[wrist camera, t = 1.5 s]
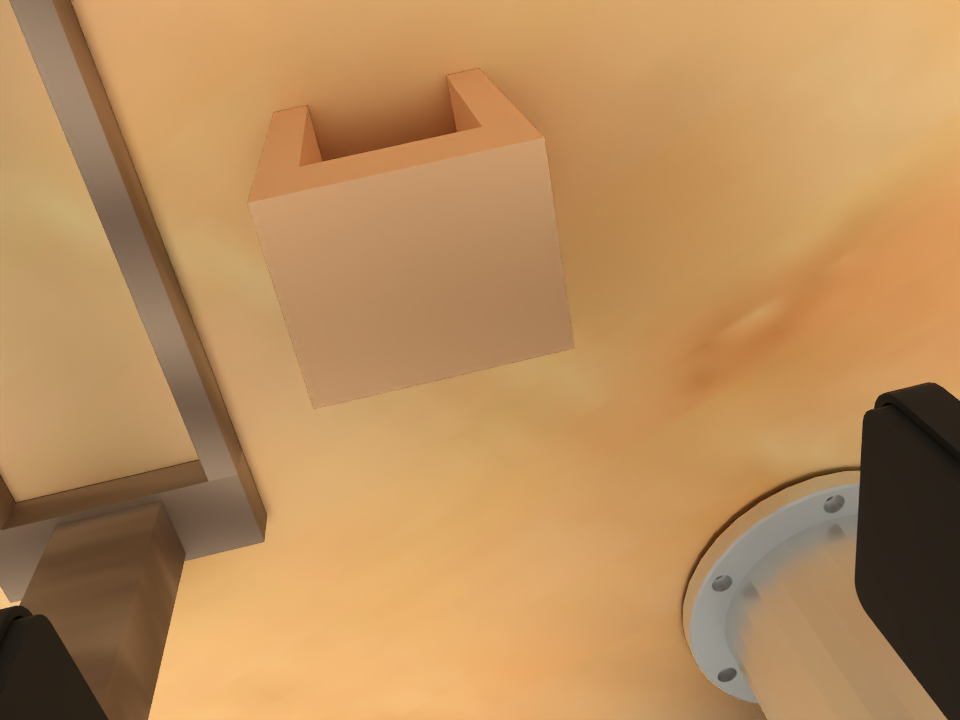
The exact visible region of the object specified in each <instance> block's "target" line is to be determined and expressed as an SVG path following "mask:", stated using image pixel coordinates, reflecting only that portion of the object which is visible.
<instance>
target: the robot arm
mask: <svg viewBox="0 0 960 720" xmlns="http://www.w3.org/2000/svg"><path fill="white" fill-rule="evenodd" d="M683 629H684V633H685V638H686V642H687V645H688V647H689V649H690V651H691V653H692V655H693V657H694V659H695V661H696V664H697V666H698V667H699V668H700V670H701V671H702V672H703V674H704V675H705V676H706V678H707V679H708V680H709V681H710V682H711V683H713V684H714V685H715V686H717V687H718V688H719V689H720V690H722V691H723V692H725V693H727V694H729V695H731V696H734V697H736V698H738V699H740V700H743V701H747V702H752V703H756V704H759V705H760V707H761V708H762V710H763V712H764V714H765V716H766V718H767V720H960V401H959V400H958V399H957V398H955V397H954V396H953V395H952V394H950V393H949V392H948V391H947V390H945V389H944V388H943V387H941V386H939V385H937V384H936V383H924V384H920V385H916V386H912V387H908V388H904V389H899V390H895V391H891V392H887V393H884V394H882V395H880V396H879V397H878V398H877V400H876V402H875V407H874V409H871V410H869V411H867V412H866V413H865V415H864V419H863V429H862V447H861V466H860V471H843V472H838V473H833V474H828V475H824V476H819V477H815V478H812V479H809V480H806V481H804V482H801V483H798V484H795V485H793V486H790V487H787V488H786V489H784V490H782V491H780V492H778V493H776V494H774V495H772V496H770V497H769V498H767V499H765V500H763V501H761V502H760V503H758V504H757V505H756V506H754V507H753V508H751V509H750V510H749V511H747V512H746V513H745V514H743V515H742V516H740V517H739V518H738V519H736V520H735V521H734V522H733V523H732V524H731V525H730V526H729V527H728V528H727V529H726V530H725V531H724V532H723V533H722V534H721V535H720V536H719V537H718V538H717V539H716V540H715V542H714V543H713V544H712V546H711V547H710V548H709V550H708V551H707V552H706V554H705V555H704V556H703V558H702V559H701V560H700V562H699V564H698V566H697V568H696V570H695V572H694V574H693V576H692V578H691V580H690V582H689V585H688V589H687V592H686V596H685V600H684V603H683ZM0 720H109V719H108V718H107V716H106V714H105V713H104V711H103V709H102V707H101V706H100V704H99V702H98V701H97V699H96V697H95V696H94V694H93V692H92V691H91V689H90V687H89V686H88V684H87V682H86V681H85V679H84V677H83V675H82V674H81V672H80V670H79V669H78V667H77V665H76V664H75V662H74V660H73V659H72V657H71V655H70V654H69V652H68V650H67V649H66V647H65V645H64V644H63V642H62V640H61V638H60V637H59V635H58V633H57V632H56V630H55V628H54V627H53V625H52V623H51V622H50V621H49V619H48V618H47V617H46V616H44V615H43V614H37V615H32V613H31V612H30V611H29V610H28V609H27V608H25V607H23V606H13V607H9V608H5V609H0Z"/></svg>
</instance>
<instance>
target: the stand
mask: <svg viewBox="0 0 960 720" xmlns="http://www.w3.org/2000/svg"><path fill="white" fill-rule="evenodd" d="M9 1H10V3H11V6H12V8H13V10H14V13H15V15H16V18H17V20H18V23H19V25H20V27H21V30H22V32H23V35H24V37H25V39H26V42H27V44H28V47H29V49H30V51H31V54H32V56H33V59H34V61H35V64H36V66H37V68H38V71H39V73H40V76H41V78H42V80H43V83H44V85H45V88H46V90H47V93H48V95H49V97H50V100H51V102H52V105H53V107H54V109H55V112H56V114H57V117H58V119H59V121H60V124H61V126H62V129H63V131H64V134H65V136H66V138H67V141H68V143H69V146H70V148H71V150H72V153H73V155H74V158H75V160H76V163H77V165H78V167H79V170H80V172H81V175H82V177H83V179H84V182H85V184H86V187H87V189H88V191H89V194H90V196H91V199H92V201H93V204H94V206H95V208H96V211H97V213H98V216H99V218H100V220H101V223H102V225H103V228H104V230H105V233H106V235H107V237H108V240H109V242H110V245H111V247H112V249H113V252H114V254H115V257H116V259H117V261H118V264H119V266H120V269H121V271H122V274H123V276H124V278H125V281H126V283H127V286H128V288H129V290H130V293H131V295H132V298H133V300H134V303H135V305H136V307H137V310H138V312H139V315H140V317H141V319H142V322H143V324H144V327H145V329H146V331H147V334H148V336H149V339H150V341H151V344H152V346H153V348H154V351H155V353H156V356H157V358H158V360H159V363H160V365H161V368H162V370H163V373H164V375H165V377H166V380H167V382H168V385H169V387H170V389H171V392H172V394H173V397H174V399H175V401H176V404H177V406H178V409H179V411H180V414H181V416H182V418H183V421H184V423H185V426H186V428H187V430H188V433H189V435H190V438H191V440H192V443H193V445H194V447H195V450H196V452H197V455H198V457H199V459H200V460H198V461H193V462H189V463H185V464H181V465H176V466H172V467H168V468H164V469H159V470H155V471H151V472H147V473H142V474H138V475H134V476H130V477H125V478H121V479H117V480H113V481H108V482H104V483H100V484H95V485H91V486H87V487H83V488H78V489H74V490H70V491H66V492H61V493H57V494H53V495H49V496H44V497H40V498H36V499H32V500H27V501H23V502H19V503H15V501H14V500H13V498H12V496H11V494H10V492H9V491H8V489H7V487H6V485H5V483H4V482H3V480H2V478H1V476H0V586H1V588H2V590H3V591H4V593H5V595H6V596H7V598H8V600H9V601H10V603H12V602H16V601H20V600H21V603H20V605H19V606H23V607H25V608H27V609H28V610H29V611H30V612H31V613H32V615H37V614H43V615H44V616H46V617H47V618H48V619H49V621H50V622H51V623H52V625H53V627H54V628H55V630H56V632H57V633H58V635H59V637H60V638H61V640H62V642H63V644H64V645H65V647H66V649H67V650H68V652H69V654H70V655H71V657H72V659H73V660H74V662H75V664H76V665H77V667H78V669H79V670H80V672H81V674H82V675H83V677H84V679H85V681H86V682H87V684H88V686H89V687H90V689H91V691H92V692H93V694H94V696H95V697H96V699H97V701H98V702H99V704H100V706H101V707H102V709H103V711H104V713H105V714H106V716H107V718H108V719H109V720H148V717H149V713H150V708H151V704H152V700H153V695H154V691H155V687H156V682H157V678H158V673H159V669H160V665H161V660H162V656H163V652H164V647H165V643H166V639H167V634H168V630H169V626H170V621H171V617H172V612H173V608H174V604H175V599H176V595H177V591H178V586H179V582H180V578H181V573H182V569H183V564H184V561H187V560H191V559H195V558H199V557H203V556H207V555H212V554H216V553H220V552H224V551H228V550H232V549H236V548H241V547H245V546H249V545H253V544H257V543H261V542H264V539H265V530H266V521H267V514H266V512H265V509H264V506H263V504H262V501H261V498H260V496H259V493H258V491H257V488H256V485H255V483H254V480H253V478H252V475H251V472H250V470H249V467H248V464H247V462H246V459H245V457H244V454H243V451H242V449H241V446H240V444H239V441H238V438H237V436H236V433H235V430H234V428H233V425H232V423H231V420H230V417H229V415H228V412H227V410H226V407H225V404H224V402H223V399H222V396H221V394H220V391H219V389H218V386H217V383H216V381H215V378H214V375H213V373H212V370H211V368H210V365H209V362H208V360H207V357H206V355H205V352H204V349H203V347H202V344H201V341H200V339H199V336H198V334H197V331H196V328H195V326H194V323H193V321H192V318H191V315H190V313H189V310H188V307H187V305H186V302H185V300H184V297H183V294H182V292H181V289H180V287H179V284H178V281H177V279H176V276H175V273H174V271H173V268H172V266H171V263H170V260H169V258H168V255H167V253H166V250H165V247H164V245H163V242H162V239H161V237H160V234H159V232H158V229H157V226H156V224H155V221H154V218H153V216H152V213H151V211H150V208H149V205H148V203H147V200H146V198H145V195H144V192H143V190H142V187H141V184H140V182H139V179H138V177H137V174H136V171H135V169H134V166H133V164H132V161H131V158H130V156H129V153H128V150H127V148H126V145H125V143H124V140H123V137H122V135H121V132H120V130H119V127H118V124H117V122H116V119H115V116H114V114H113V111H112V109H111V106H110V103H109V101H108V98H107V96H106V93H105V90H104V88H103V85H102V82H101V80H100V77H99V75H98V72H97V69H96V67H95V64H94V61H93V59H92V56H91V54H90V51H89V48H88V46H87V43H86V41H85V38H84V35H83V33H82V30H81V27H80V25H79V22H78V20H77V17H76V14H75V12H74V9H73V7H72V4H71V1H70V0H9Z"/></svg>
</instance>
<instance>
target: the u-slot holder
mask: <svg viewBox="0 0 960 720" xmlns="http://www.w3.org/2000/svg"><path fill="white" fill-rule="evenodd" d="M446 77H447V82H448V87H449V93H450V98H451V103H452V108H453V114H454V119H455V124H456V129H457V132H456V133H451V134H447V135H442V136H437V137H433V138H428V139H424V140H419V141H415V142H410V143H405V144H401V145H396V146H392V147H387V148H383V149H378V150H374V151H369V152H364V153H360V154H355V155H351V156H346V157H342V158H337V159H332V160H328V161H322V157H321V154H320V150H319V146H318V143H317V139H316V135H315V132H314V128H313V124H312V120H311V117H310V113H309V109H308V106H307V105H306V106H302V107H297V108H292V109H288V110H283V111H278V112H274V114H273V117H272V121H271V124H270V128H269V131H268V134H267V138H266V141H265V144H264V148H263V151H262V154H261V158H260V161H259V165H258V168H257V171H256V175H255V178H254V181H253V185H252V188H251V192H250V195H249V198H248V202H247V204H248V207H249V211H250V214H251V217H252V220H253V223H254V226H255V229H256V232H257V235H258V238H259V241H260V245H261V248H262V251H263V254H264V257H265V260H266V263H267V266H268V269H269V272H270V276H271V279H272V282H273V285H274V288H275V291H276V294H277V297H278V300H279V303H280V306H281V310H282V313H283V316H284V319H285V322H286V325H287V328H288V331H289V334H290V337H291V340H292V344H293V347H294V350H295V353H296V356H297V359H298V362H299V365H300V368H301V371H302V375H303V378H304V381H305V384H306V387H307V390H308V393H309V396H310V399H311V402H312V405H313V409H317V408H321V407H325V406H330V405H334V404H338V403H342V402H347V401H351V400H355V399H359V398H364V397H368V396H372V395H377V394H381V393H385V392H389V391H394V390H398V389H402V388H407V387H411V386H415V385H419V384H424V383H428V382H432V381H437V380H441V379H445V378H449V377H454V376H458V375H462V374H467V373H471V372H475V371H479V370H484V369H488V368H492V367H497V366H501V365H505V364H509V363H514V362H518V361H522V360H527V359H531V358H535V357H539V356H544V355H548V354H552V353H557V352H561V351H565V350H569V349H574V341H573V334H572V327H571V320H570V313H569V306H568V299H567V292H566V285H565V278H564V271H563V264H562V257H561V250H560V243H559V236H558V229H557V222H556V215H555V208H554V201H553V193H552V186H551V179H550V172H549V165H548V158H547V151H546V144H545V137H544V136H543V135H542V134H541V133H540V132H539V131H538V130H537V129H536V128H535V127H534V126H533V125H532V124H531V123H530V122H529V121H528V120H527V118H526V117H525V116H524V115H523V114H522V113H521V112H520V111H519V110H518V109H517V108H516V107H515V106H514V105H513V104H512V103H511V102H510V101H509V99H508V98H507V97H506V96H505V95H504V94H503V93H502V92H501V91H500V90H499V89H498V88H497V87H496V86H495V85H494V84H493V83H492V82H491V80H490V79H489V78H488V77H487V76H486V75H485V74H484V73H483V72H482V71H481V70H480V69H479V68H478V69H473V70H469V71H464V72H459V73H455V74H450V75H446Z"/></svg>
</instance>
